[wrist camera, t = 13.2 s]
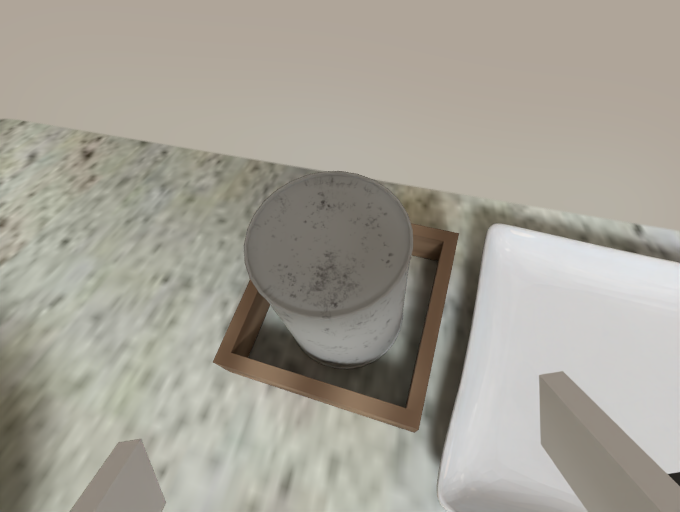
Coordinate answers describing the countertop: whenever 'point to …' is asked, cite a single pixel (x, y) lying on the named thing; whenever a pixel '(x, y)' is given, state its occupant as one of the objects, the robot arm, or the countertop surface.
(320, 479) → the countertop surface
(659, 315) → the salad plate
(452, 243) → the collar
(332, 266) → the grey speckled cylinder
